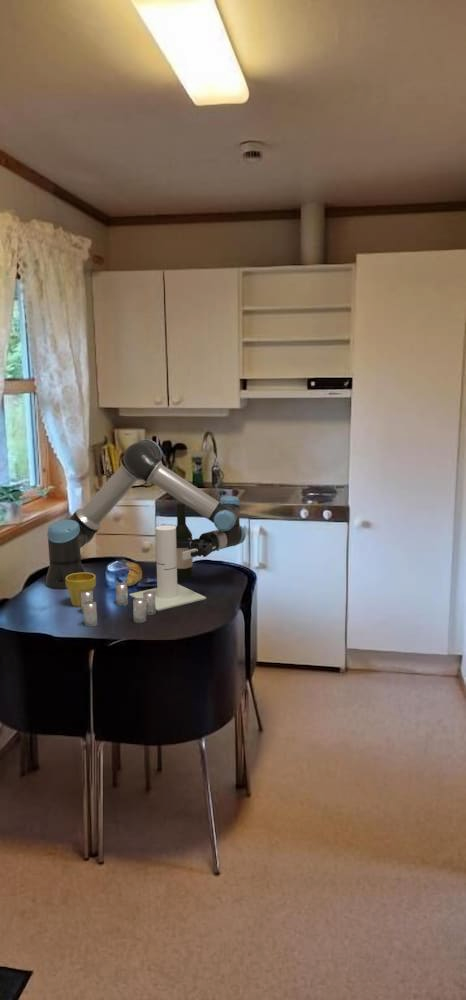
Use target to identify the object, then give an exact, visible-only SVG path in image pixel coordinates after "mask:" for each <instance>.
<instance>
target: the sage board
mask: <svg viewBox="0 0 466 1000" xmlns="http://www.w3.org/2000/svg"><path fill="white" fill-rule="evenodd" d="M147 591H153V592H155V601H156V612H160V611H163V610H167V609H168V610H169V609H171V608H175V607H181V606H183V605H188V604H191V603H195V602H199V601H203V600H207V597H206V596H204V595H202V594H200V593H198V592H195V591H194V590H192V589H189V588H187V587H185V586H182V584H179V583H177V594H178V595H177V597H175V598H172V599H162V598H159V597H158V594H157V587H153V588H150V589H145V590H141V591H136V592H132V593H129V594H128V596H130V597H131V598H132V599H136V598H143V593H144V592H147Z"/></svg>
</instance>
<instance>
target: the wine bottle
mask: <svg viewBox="0 0 466 1000" xmlns="http://www.w3.org/2000/svg"><path fill="white" fill-rule="evenodd" d="M186 511H187V510H186V505H185V504H184V503H182V502H181V501H179V500H178V501H177V503H176V521H177V522H176V523H177V524H176V526H175V527H176V540H177V539H187V538H192V539H193V533H192V532H191V530H190V528H189V527H188V525H187V523H186V521H187V520H186V519H187V518H186V517H187V516H186ZM190 547H191V545H190ZM176 549H177V580H183V579H184V580H186V579H190V578H193V572H194V571H193V570H194V569H193V558H189V559H186V560H182V552H185V551H189V550H192V549H188V548H176Z"/></svg>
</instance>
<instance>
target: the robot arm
mask: <svg viewBox="0 0 466 1000" xmlns="http://www.w3.org/2000/svg"><path fill="white" fill-rule="evenodd" d="M162 458H163V453H162V449H161V447H160V446H159V444H158V443H157V442H156V441H153V440H152V439H141V440H138V441H137V442H135V443H132V444H131V445H129V446H128V447H127V448H126V449H125V451H124V452H123V457H122V458H121V459H120V466H119V467H118V468H117V470H116V471H115V472H114V473H113V474H112V475H111V476H110V478H109V479H108V480H107V481H106V482H105V483H104V485H102V487H101V488H100V489H99V490H98V491H97V492H95V495H93V497H91V499H90V500H89V501H88V502H87V503H86V505H84V507H83V508H78V509H76V510H75V511H74V512H73V513H72V515H71V516H70V517H69V518H68V519H61V520H58V521H53V522H52V523H50V524H49V525H48V526H47V534H46V535H47V541H48V544H47V545H48V546H47V547H48V558H49V560H48V561H49V567H48V569H47V574H46V577H45V585H46V586H47V587H49V588H51V589H60V590H61V589H62V590H64V589H68V588H67V587H66V576H68V575H70V574H73V573H81V572H86V571H85V569H84V566H83V564H82V557H81V556H82V555H81V548H83V546H85V545H86V544H89V542H91V541H92V539H93V537H94V535H95V534H97V532H98V531H99V530H100V529H101V522H102V521H103V519H104V518H106V517H107V515H108V514H109V513H110V512H111V511H112V510H113V509H114V507H116V506H117V504H118V503H119V502H120V501H121V500H122V498H123V497H124V496H125V495H126V494H127V493H128V492H129V491H130V490H131V488H132V487H133V486H134V485H135V484H136V483H137V482H138V481H143V482H145V483H147V484H148V483H152V484H154V486H156V487H158V488H159V489H161V490H163V491H164V492H165V493H167V494H168V495H170V496H171V497H173V498H175V499H176V500H178V501H181V502H182V503H184V504H185V506H187V507H189V508H190V509H191V510H193V511H195V512H196V513H197V514H200V515H201V516H202V517H204V518H205V519H207V520H208V521H210V522H212V524H214V526H215V528H216V529H214V530H211V531H208V532H207V531H206V532H204V533H202V534H200V536H199V538H194V539H193V537H192V538H187V539H177V540H176V548H188V549H192V550H189V551H185V552H182V560H186V559H189V558H192V559H193V558H196V557H202V558H206V557H208V556H209V555H210V554H212V552H219V551H220V550H224V549H226V548H230V547H235V546H239V545H240V544H242V543H243V542H244V541H246V538H247V537H246V535H247V533H246V531H245V527H243V526H242V525H240V524H241V523H240V521H241V520H240V515H241V513H240V510H241V509H240V508H241V505H240V498H239V497H237V496H234V495H227V496H226V495H225V496H222V497H221V498H220V499H219V501H220V502H219V501H218V500H217V499H215V498H213V497H212V496H210V495H209V494H208V493H206V492H205V491H203V490H201V489H200V488H198V487H197V486H195V485H193V484H192V483H191V482H189V481H188V480H186V479H184V478H183V477H182V476H180V475H179V474H177V473H175V472H174V471H172V470H171V469H169V468H168V467H167V466H165V465H163V462H162ZM190 545H191V547H190Z"/></svg>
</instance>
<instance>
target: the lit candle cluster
mask: <svg viewBox="0 0 466 1000" xmlns="http://www.w3.org/2000/svg"><path fill="white" fill-rule="evenodd" d="M128 596H129V594H128V586H127V583H122V582H118V583H115V601H116V603H115V604H116V606H126V605H128V604H129V597H128ZM80 607H81V613H82V614H83V619H84V620H83V621H84V626H85V627H95V626H97V625H98V612H97V602H96V601H94V590H93V591H92V590H84V591H81V606H80ZM132 607H133V609H132V612H133V622H134V623H136V624H142V623H145V622H147V616H153V615H155V614H157V611H156V601H155V592H153V591H147V592H144V593H143V598H136V599H135V598H133V600H132Z"/></svg>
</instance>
